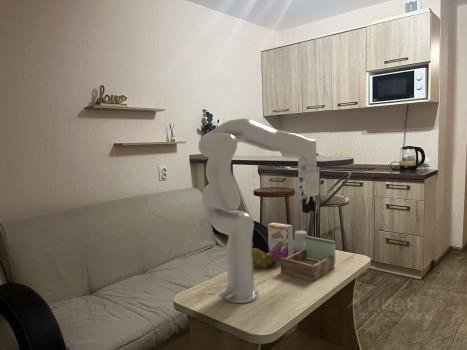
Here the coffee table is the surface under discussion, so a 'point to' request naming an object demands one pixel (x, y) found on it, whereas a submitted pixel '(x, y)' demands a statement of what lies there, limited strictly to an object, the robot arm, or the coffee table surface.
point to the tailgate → (319, 248)
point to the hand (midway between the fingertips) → (308, 211)
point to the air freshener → (299, 241)
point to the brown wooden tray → (306, 266)
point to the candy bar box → (280, 240)
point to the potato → (262, 259)
